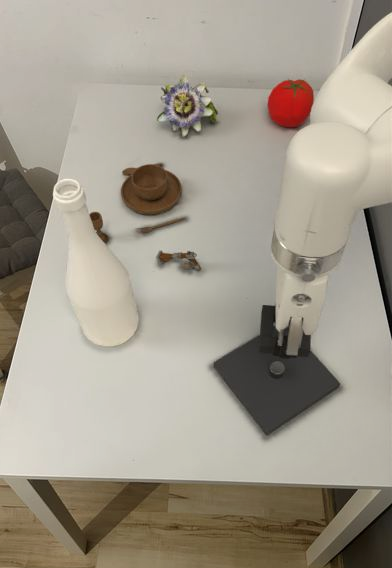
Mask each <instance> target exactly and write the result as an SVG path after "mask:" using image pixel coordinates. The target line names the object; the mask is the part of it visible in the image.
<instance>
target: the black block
mask: <svg viewBox="0 0 392 568" xmlns="http://www.w3.org/2000/svg"><path fill="white" fill-rule="evenodd" d="M289 322H290V320H289ZM274 324H276V306H275V305H274V304H273V305H272V304H262V306H261V313H260V325H259V327H260V328H259V335H260V340H259V353H266V354H273V348H274V344H275V339H276V337H273V326H274ZM311 344H312V335H305V333H304V331H303V335H302V343H301V346H300V349H299V352H298V355H297V356H299V357H308V356H309V353H310V350H311V348H312V345H311ZM311 351H312V350H311Z"/></svg>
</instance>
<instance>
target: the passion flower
mask: <svg viewBox="0 0 392 568" xmlns="http://www.w3.org/2000/svg"><path fill="white" fill-rule="evenodd" d="M164 86H165V88H164V87H163V86H160V89H161V91H162V92H163V95H162V96H160V100H161V101H162V102H163V104H165V107H164V108H163V111H162V112H161V113H159V115H158V116H156V117H157V118H156V121H157V122H158V123H163V122H166V121H168V122H170V124H171V130H172V133H174V132H176V131H178V130H179V131H180V132H181V136H182V137H183V138H185V137H186V136H187V135H188V134H189V129H190V128H191V127H192V128H193V129H194V130H195V131H196V132H201V129H202V118H203V117H207V118H209V120H210V121H211V123H212V124H215V123H216V121H217V115H219V111H218V110H217V109H216V107H215V106H214V103H213V101H212V99H211V97H209V96H205V95H202V93H203V92H204V90H205V93H206V94H209V93H210V90H209V88H208V87H207V86H206V83H205V82H201V83H198V84H196V85H195V86H194V87H192V86H190V83H189V81H188V77H187V76H186V75H184V74H183V75H182V76H181V77H180V79H179V82H178V83H176V84H174V86H172V85H171V84H165V85H164Z"/></svg>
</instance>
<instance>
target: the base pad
mask: <svg viewBox="0 0 392 568" xmlns="http://www.w3.org/2000/svg"><path fill="white" fill-rule="evenodd" d="M288 333H289V330H285V331H284V335H285V336H288ZM278 336H279V331H278V330H277V329H276V324H275V325H273V337H278ZM259 340H260V334H258V335H256V336H255V337H253V338H251V339H250V340H248V341H247V342H245V343H243V344H241V345H240V346H238V347H237V348H235V349H233V350H232V351H230V352H229V353H227V354H225V355H223V356H222V357H220V358H218V359H217V360H215V361H214V362H213V368H214V370H216V372H217V374H219V376H220V377H221V378H222V380H223V381H224V382H225V384H226V385H227V386H228V387H229V389H230V390H231V391H232V393H233V394H234V395H235V397H236V398H237V399H238V400H239V402H240V404H241V405H242V406H244V408H245V410H246V411H247V412H248V413H249V415H250V416H251V417H252V419H253V420H254V422H255V423H256V424H257V425H258V427H259V428H260V429H261V430H262V432H263V433H264V434H265V436H269V435H271V434H272V433H273V432H275V431H276V430H278V429H280V428H281V427H282V426H284V425H285V424H286V423H288V422H290V421H291V420H293V419H294V418H296V417H297V416H299V415H300V414H302V413H303V412H305V411H306V410H307V409H309V408H311V407H313V405H315V404H317V403H318V402H320V401H321V400H323V399H324V398H326V397H327V396H329V395H330V394H332V393H333V392H335V391H336V390H338V389H339V388H340V386H341V382H340V381H339V380H338V379H337V378H336V377H335V376H334V375H333V373H331V371H330V370H329V369H328V368H327V367H326V365H324V364H323V362H322V361H321V360H320V359H319V358H318V357H317V356H316V354H315V353H314V352H313V351H312V350H310V353H309V356H308V357H299V356H297V357H296V358H290V359H283V358H280V357H279V356H273V354H266V353H259Z"/></svg>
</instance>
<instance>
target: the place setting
mask: <svg viewBox="0 0 392 568" xmlns="http://www.w3.org/2000/svg"><path fill="white" fill-rule="evenodd" d="M161 165H163V164H162V163H161V162H160V163H154V164H152V163H149V164H144V165H140V166H139V167H127V168H125V169H123V170H122V171H121V173H122V175H125V176H127V175H128V176H127V177H126V178H125V179H124V181H123V182H122V185H121V186H120V196H121V199H122V201H123V203H124V204H125V206H126V207H128V208H129V209H130V210H132V211H134V212H136V213H138V214H142V215H158V214H162V213H164V212H166V211H168V210H170V209H173V207H174V206H175V205H176V204H177V203H178V201H179V200H180V198H181V195H182V191H183V189H182V183H181V181H180V179H179V177H177V175H175V173H173V172H171V171H169V170H167V169H165V168H163V167H162V166H161ZM89 215H90V218H91V221H92V224H93V227H94V230H95V232H96V233H97V235H98V236H99V237H100V239H101V240H102V241H103V242H104V243H105V244H107V242H108V241H109V236H108V234H107V233H104V232H103V231H102V229H103V227H104V220H103V217H102V214H101V212H99V211H91V212H89ZM183 220H186V218H185V217H181V218H176V219H173V220H170V221H169V220H168V221H166V222H163V223H159V224H156V225H153V226H145V227H137V228H136V232H137V233H138V234H145V233H150V232H152V231H153V230H154V229H156V228H160V227H163V226H168V225H170V224H171V225H172V224H173V223H177V222H181V221H183Z"/></svg>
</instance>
